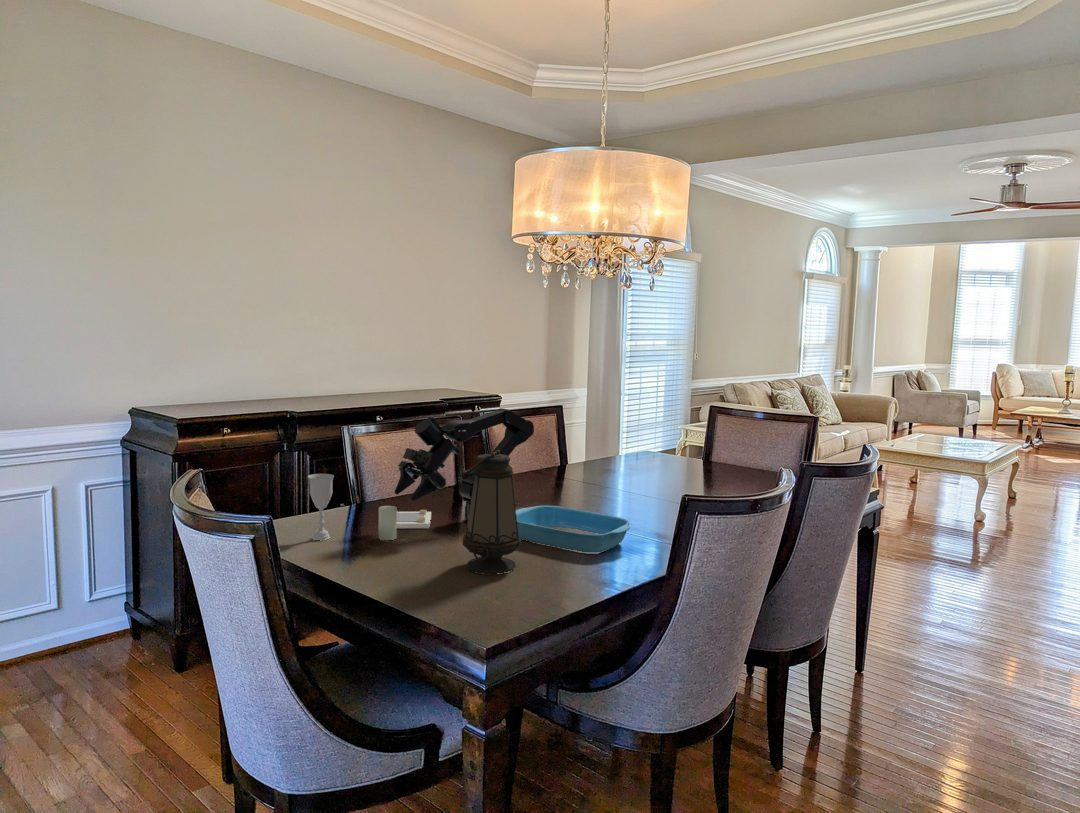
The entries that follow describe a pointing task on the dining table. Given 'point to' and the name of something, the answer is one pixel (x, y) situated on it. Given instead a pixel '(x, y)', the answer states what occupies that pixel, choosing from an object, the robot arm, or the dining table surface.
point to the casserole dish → (541, 517)
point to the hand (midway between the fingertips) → (403, 496)
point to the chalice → (321, 499)
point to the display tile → (413, 519)
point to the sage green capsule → (387, 522)
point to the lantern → (491, 515)
